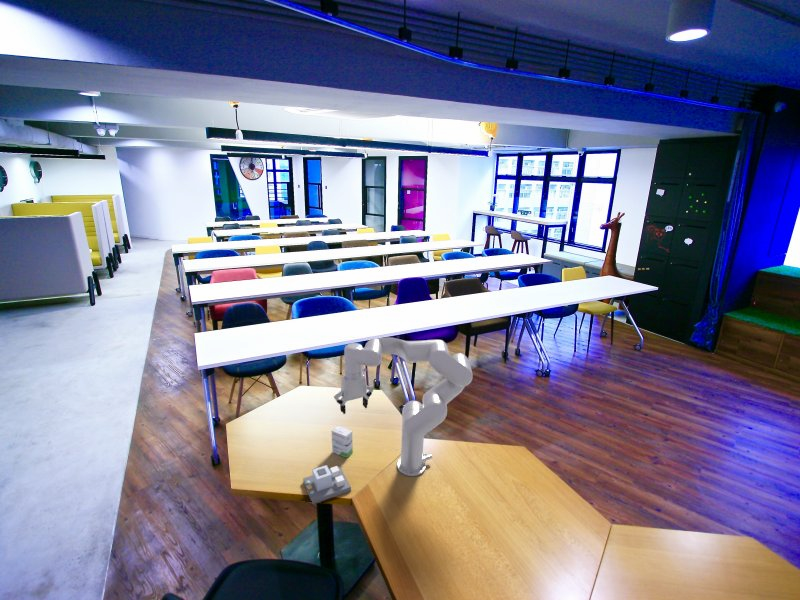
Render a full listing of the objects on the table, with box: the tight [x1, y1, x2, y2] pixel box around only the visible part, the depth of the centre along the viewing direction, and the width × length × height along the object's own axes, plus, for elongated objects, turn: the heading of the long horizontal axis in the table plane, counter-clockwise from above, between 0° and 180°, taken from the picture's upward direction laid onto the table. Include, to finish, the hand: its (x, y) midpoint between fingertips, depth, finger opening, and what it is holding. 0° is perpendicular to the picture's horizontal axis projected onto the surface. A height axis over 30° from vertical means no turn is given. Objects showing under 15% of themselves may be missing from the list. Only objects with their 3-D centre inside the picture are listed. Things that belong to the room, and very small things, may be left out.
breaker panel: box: [302, 465, 352, 505], centre depth 168 cm, size 16×13×5 cm
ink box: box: [331, 425, 354, 459], centre depth 187 cm, size 9×5×12 cm, turn 62°
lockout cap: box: [312, 464, 332, 491], centre depth 166 cm, size 6×6×6 cm
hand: (354, 409), depth 173 cm, fingers open, 9 cm apart
